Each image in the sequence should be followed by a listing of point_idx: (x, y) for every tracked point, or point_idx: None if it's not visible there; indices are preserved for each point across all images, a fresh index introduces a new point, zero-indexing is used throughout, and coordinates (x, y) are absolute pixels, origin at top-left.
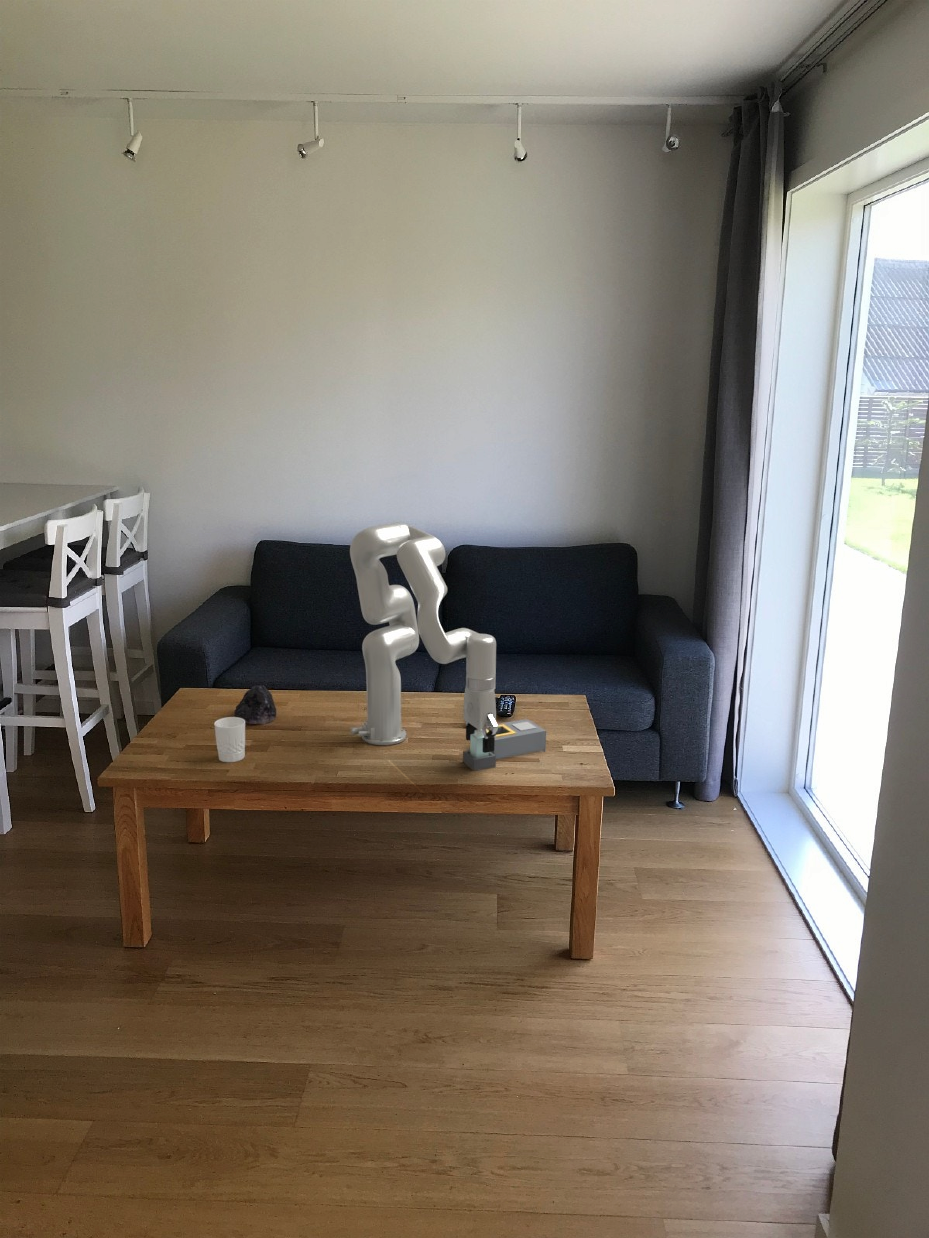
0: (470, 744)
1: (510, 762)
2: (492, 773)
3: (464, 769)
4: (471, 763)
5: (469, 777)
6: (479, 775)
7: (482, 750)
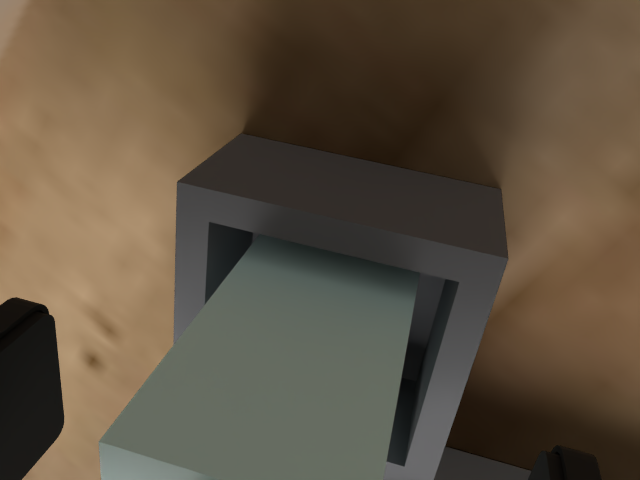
0: (394, 374)
1: None
2: (151, 252)
3: (363, 104)
4: (273, 171)
5: (164, 17)
6: (163, 134)
7: (26, 311)
